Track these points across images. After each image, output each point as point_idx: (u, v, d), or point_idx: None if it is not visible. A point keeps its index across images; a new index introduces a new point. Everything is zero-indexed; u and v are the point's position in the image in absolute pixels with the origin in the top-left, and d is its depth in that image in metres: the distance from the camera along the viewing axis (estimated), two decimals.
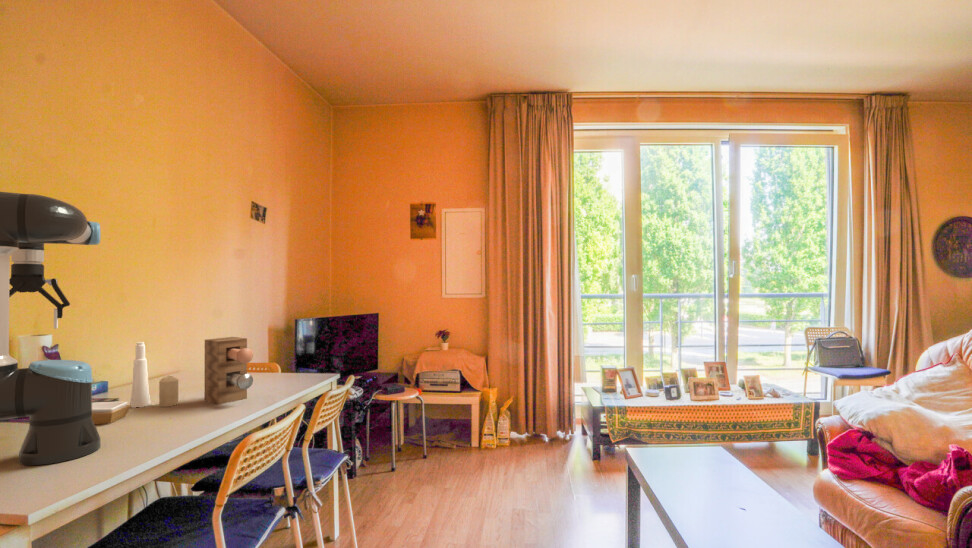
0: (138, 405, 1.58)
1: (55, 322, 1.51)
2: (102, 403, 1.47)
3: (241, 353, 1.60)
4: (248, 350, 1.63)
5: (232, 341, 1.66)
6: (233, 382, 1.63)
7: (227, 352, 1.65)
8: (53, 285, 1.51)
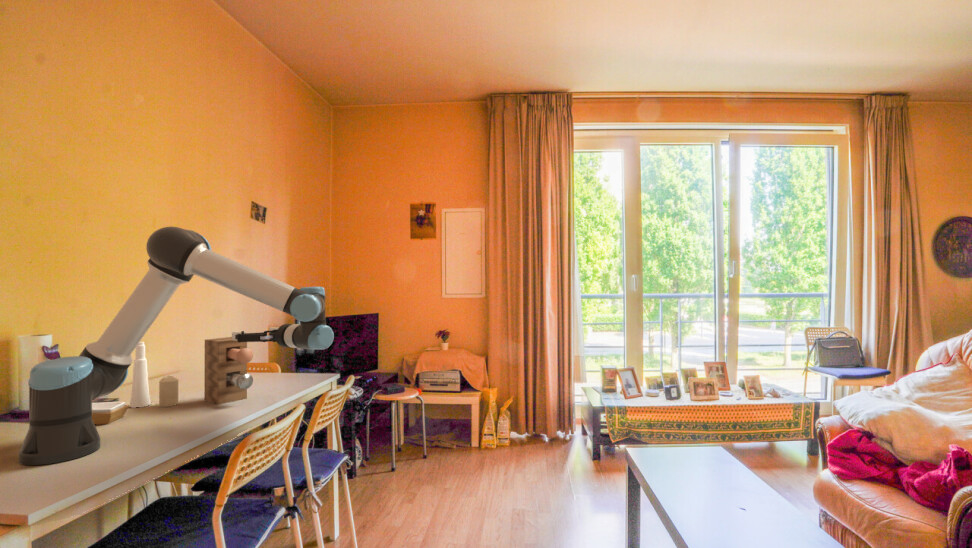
0: (138, 405, 1.58)
1: (236, 332, 1.52)
2: (99, 403, 1.47)
3: (241, 353, 1.60)
4: (248, 350, 1.63)
5: (232, 341, 1.66)
6: (233, 382, 1.63)
7: (227, 352, 1.65)
8: (261, 333, 1.47)
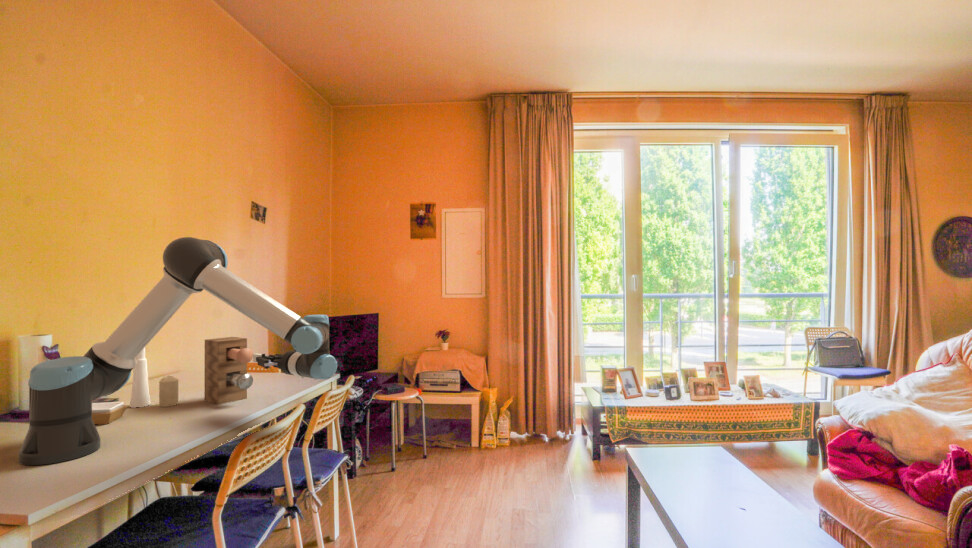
0: (138, 405, 1.58)
1: (257, 354, 1.58)
2: (97, 404, 1.46)
3: (241, 353, 1.60)
4: (248, 350, 1.63)
5: (232, 341, 1.66)
6: (233, 382, 1.63)
7: (227, 352, 1.65)
8: (267, 359, 1.48)
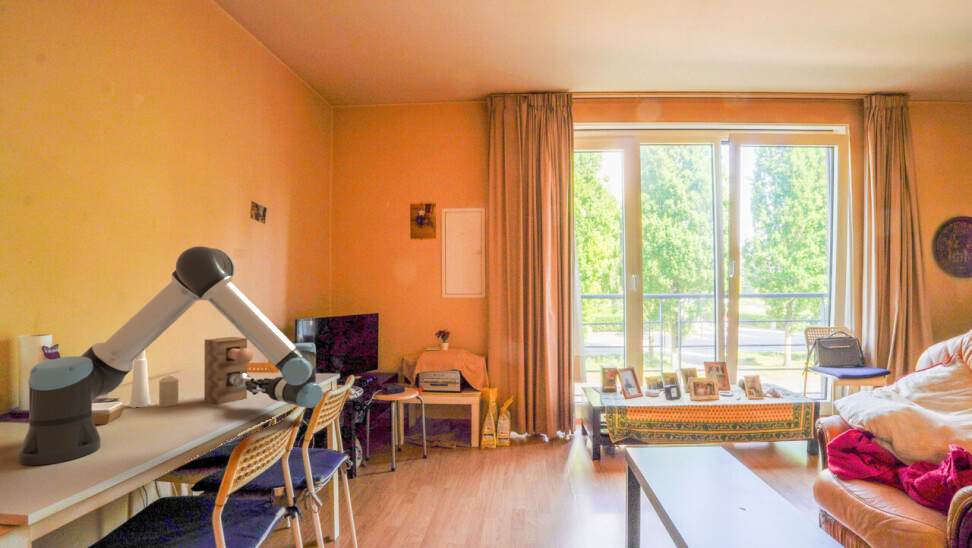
0: (138, 405, 1.58)
1: (246, 378, 1.61)
2: (95, 404, 1.46)
3: (241, 353, 1.60)
4: (248, 350, 1.63)
5: (232, 341, 1.66)
6: (230, 381, 1.64)
7: (227, 352, 1.65)
8: (255, 385, 1.51)
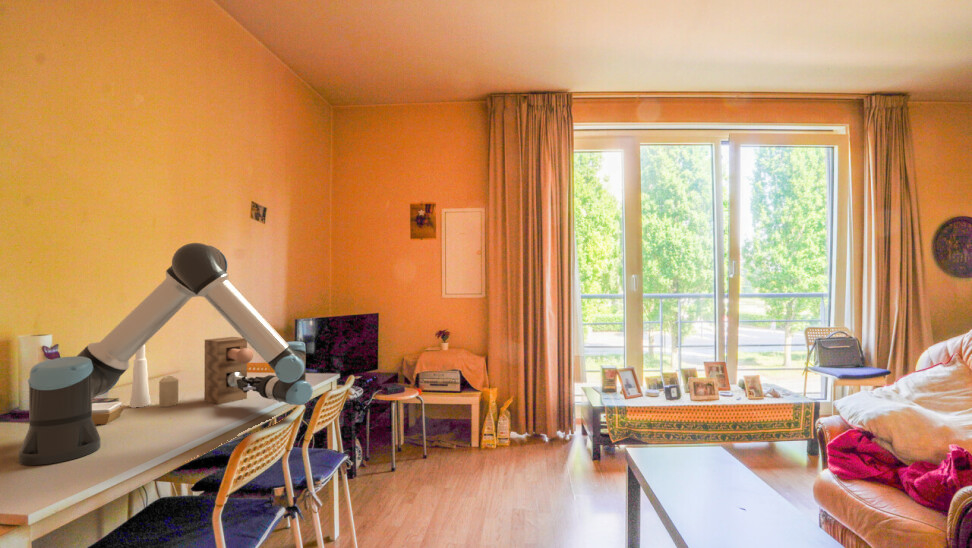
0: (138, 405, 1.58)
1: (238, 376, 1.64)
2: (94, 404, 1.46)
3: (241, 353, 1.60)
4: (248, 350, 1.63)
5: (232, 341, 1.66)
6: None
7: (227, 352, 1.65)
8: (246, 383, 1.53)
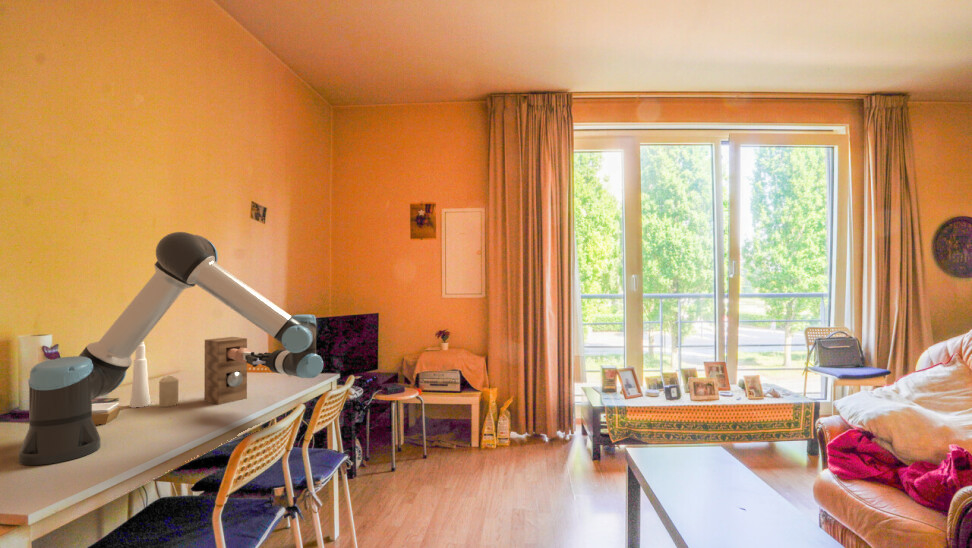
0: (138, 405, 1.58)
1: (246, 352, 1.61)
2: None
3: (239, 353, 1.61)
4: (246, 350, 1.63)
5: (232, 341, 1.66)
6: None
7: None
8: (255, 357, 1.51)
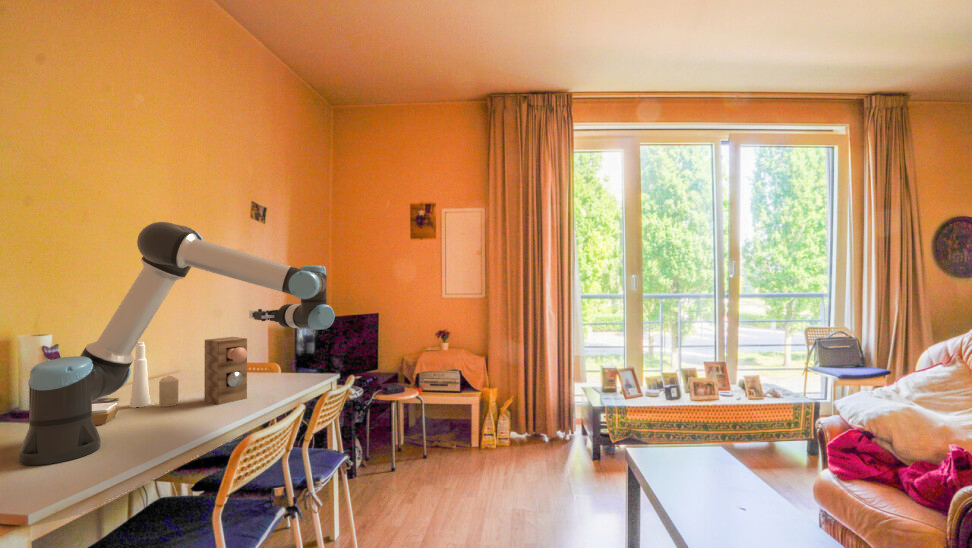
0: (138, 405, 1.58)
1: (253, 310, 1.58)
2: None
3: (235, 352, 1.63)
4: (242, 349, 1.65)
5: (232, 341, 1.66)
6: None
7: None
8: None
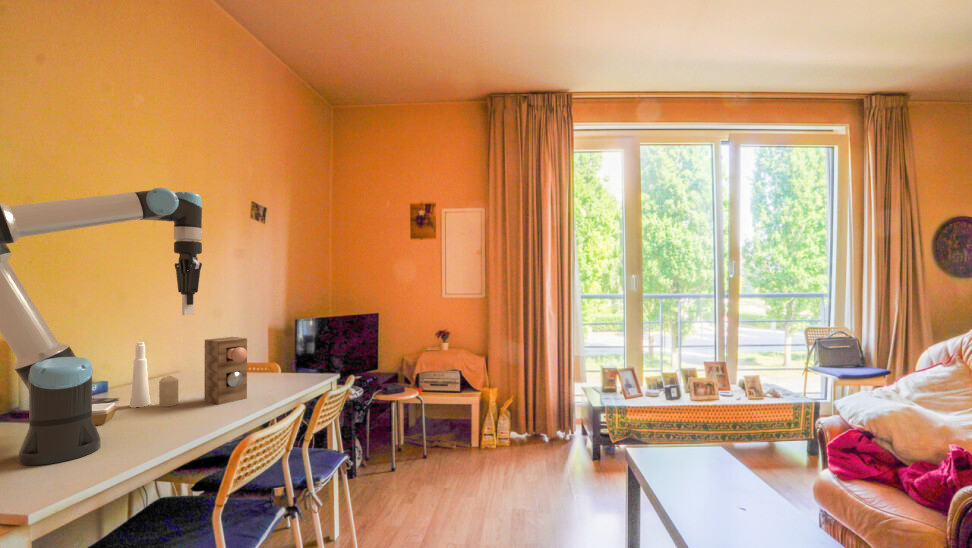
0: (138, 405, 1.58)
1: (183, 308, 1.46)
2: None
3: (235, 352, 1.63)
4: (242, 349, 1.65)
5: (232, 341, 1.66)
6: None
7: None
8: (191, 268, 1.44)
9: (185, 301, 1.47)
